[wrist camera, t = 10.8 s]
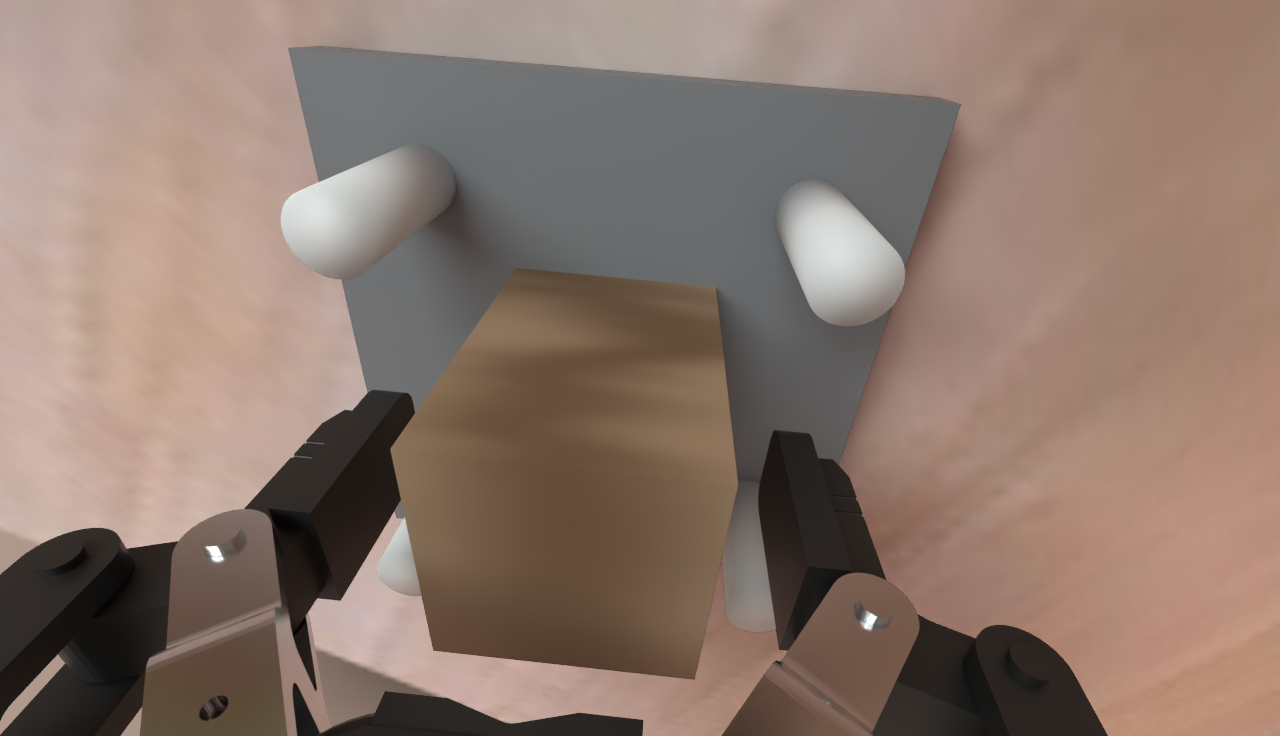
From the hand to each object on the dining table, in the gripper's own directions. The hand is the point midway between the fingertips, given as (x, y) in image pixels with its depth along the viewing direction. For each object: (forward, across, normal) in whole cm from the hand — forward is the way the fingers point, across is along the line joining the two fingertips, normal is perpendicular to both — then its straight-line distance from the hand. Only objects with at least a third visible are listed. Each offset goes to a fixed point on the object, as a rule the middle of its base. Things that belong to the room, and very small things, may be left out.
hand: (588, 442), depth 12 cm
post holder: (+5, 0, 0) cm, 5 cm away
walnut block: (+3, 0, 0) cm, 3 cm away
